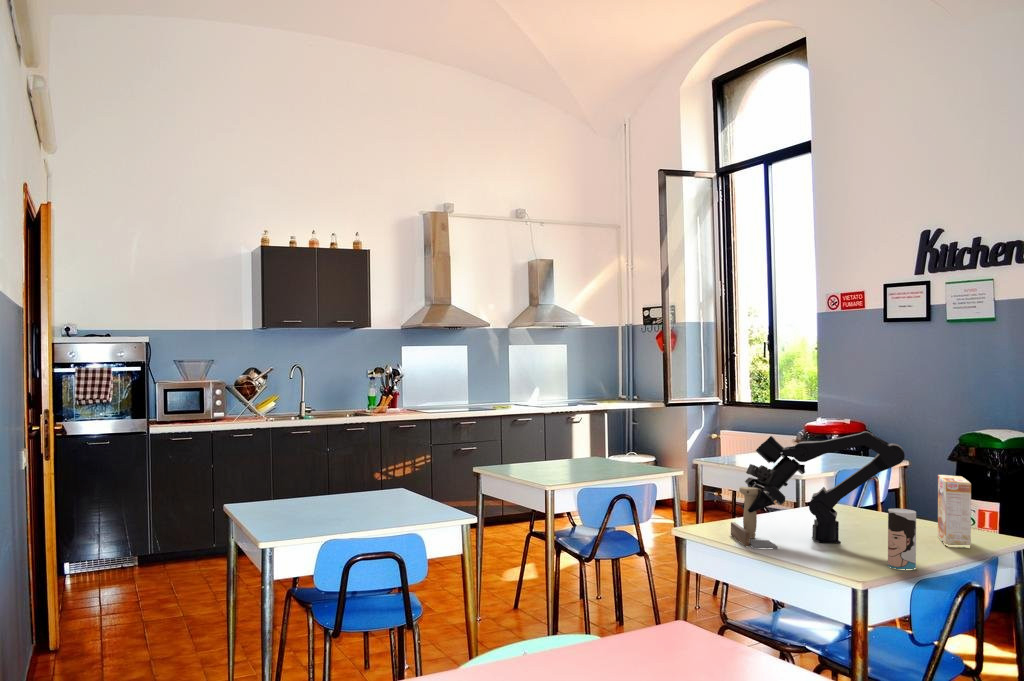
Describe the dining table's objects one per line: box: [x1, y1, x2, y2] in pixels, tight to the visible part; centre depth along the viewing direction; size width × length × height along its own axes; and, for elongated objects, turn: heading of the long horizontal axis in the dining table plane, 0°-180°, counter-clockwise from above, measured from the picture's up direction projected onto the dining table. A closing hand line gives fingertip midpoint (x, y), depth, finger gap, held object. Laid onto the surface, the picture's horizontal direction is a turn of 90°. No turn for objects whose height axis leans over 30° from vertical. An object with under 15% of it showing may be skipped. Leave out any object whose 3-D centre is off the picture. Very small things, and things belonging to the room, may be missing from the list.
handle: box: [739, 486, 760, 539], centre depth 252 cm, size 5×6×15 cm
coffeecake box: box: [937, 474, 972, 547], centre depth 249 cm, size 15×7×20 cm, turn 160°
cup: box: [887, 507, 917, 570], centre depth 219 cm, size 7×7×15 cm
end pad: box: [750, 539, 779, 550], centre depth 241 cm, size 7×8×1 cm
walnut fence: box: [730, 521, 751, 547], centre depth 247 cm, size 1×15×4 cm, turn 1°
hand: (745, 510), depth 252 cm, fingers closed on handle, 5 cm apart
